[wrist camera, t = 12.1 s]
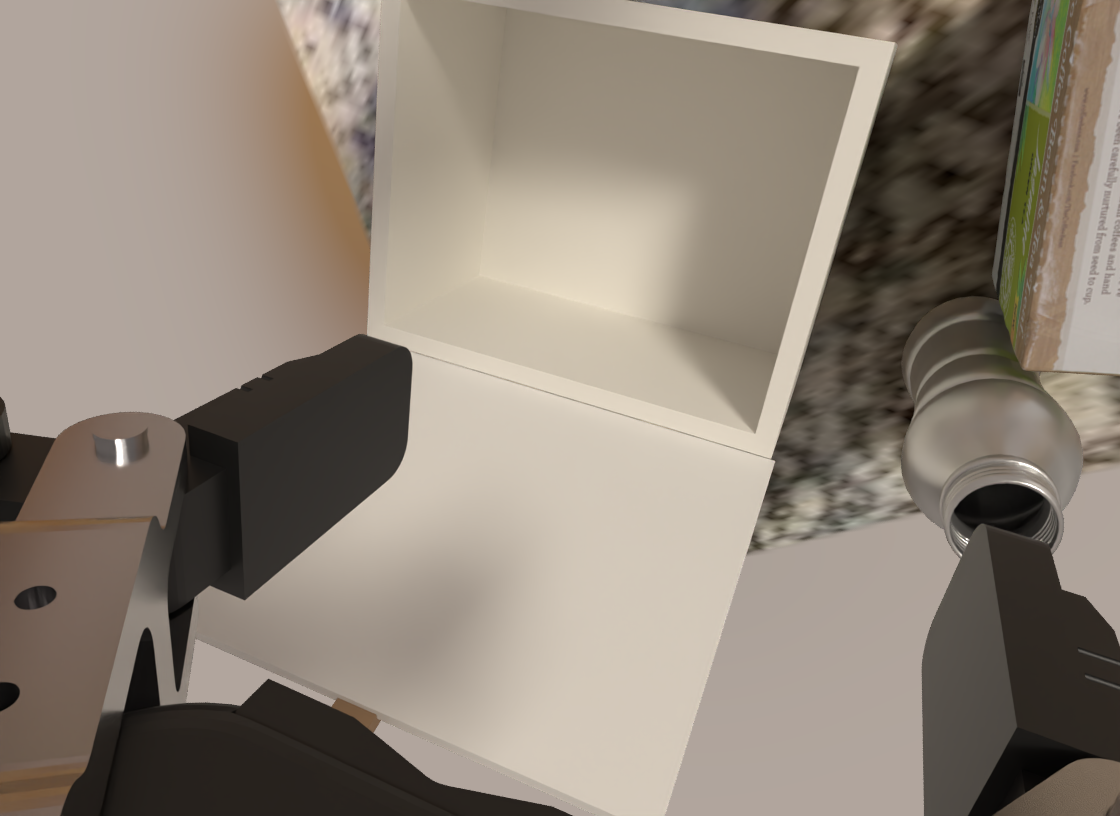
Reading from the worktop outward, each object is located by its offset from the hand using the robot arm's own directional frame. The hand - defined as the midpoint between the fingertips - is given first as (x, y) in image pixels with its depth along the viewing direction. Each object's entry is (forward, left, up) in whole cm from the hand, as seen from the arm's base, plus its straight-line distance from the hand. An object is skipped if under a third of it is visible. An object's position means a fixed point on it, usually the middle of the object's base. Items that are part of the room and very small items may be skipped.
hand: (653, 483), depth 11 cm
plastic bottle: (+8, +9, -38) cm, 40 cm away
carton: (+3, -10, -38) cm, 39 cm away
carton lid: (+14, -10, -14) cm, 23 cm away
